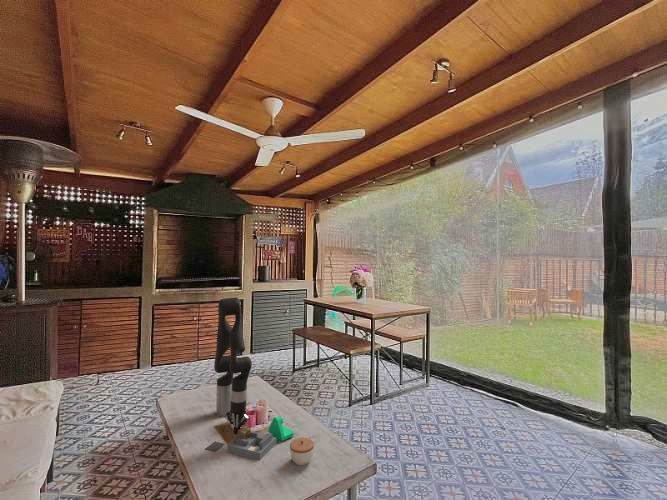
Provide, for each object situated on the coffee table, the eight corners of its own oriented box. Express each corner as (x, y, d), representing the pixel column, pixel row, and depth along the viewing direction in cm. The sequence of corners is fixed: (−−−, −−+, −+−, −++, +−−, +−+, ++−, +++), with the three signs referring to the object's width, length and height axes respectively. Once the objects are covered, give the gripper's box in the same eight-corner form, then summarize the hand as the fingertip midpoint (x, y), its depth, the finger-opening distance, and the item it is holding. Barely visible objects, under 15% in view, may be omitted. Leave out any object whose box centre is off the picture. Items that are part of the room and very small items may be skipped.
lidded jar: (291, 454, 154) (292, 433, 154) (314, 454, 153) (315, 434, 154) (287, 468, 143) (288, 446, 143) (312, 469, 143) (312, 447, 143)
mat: (215, 441, 164) (215, 441, 164) (225, 444, 161) (225, 443, 161) (204, 449, 157) (204, 448, 157) (215, 452, 155) (215, 451, 155)
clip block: (242, 434, 164) (244, 425, 164) (249, 437, 162) (251, 428, 162) (236, 439, 159) (238, 430, 159) (242, 442, 158) (244, 433, 157)
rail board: (245, 436, 168) (245, 424, 169) (276, 443, 162) (276, 431, 162) (227, 451, 155) (227, 438, 156) (260, 459, 149) (260, 446, 149)
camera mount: (294, 437, 169) (294, 416, 169) (282, 443, 163) (282, 422, 163) (280, 428, 177) (280, 409, 177) (268, 434, 172) (268, 413, 172)
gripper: (254, 398, 163) (252, 433, 163) (232, 392, 168) (230, 426, 168) (245, 404, 156) (242, 441, 156) (222, 398, 161) (220, 434, 161)
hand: (236, 433), depth 162 cm, fingers closed
